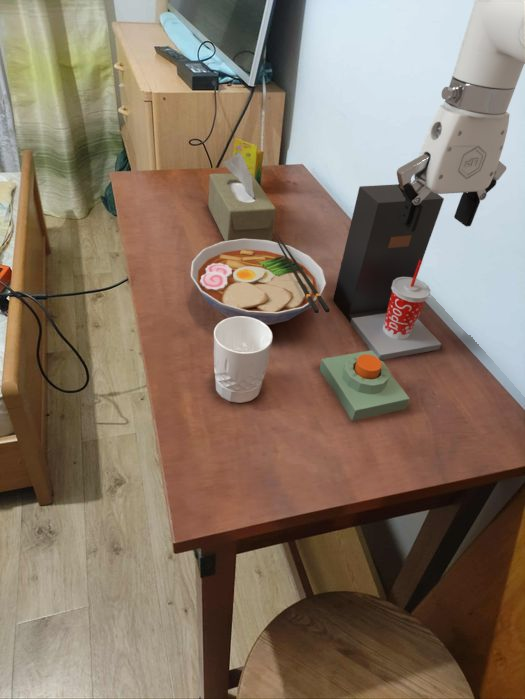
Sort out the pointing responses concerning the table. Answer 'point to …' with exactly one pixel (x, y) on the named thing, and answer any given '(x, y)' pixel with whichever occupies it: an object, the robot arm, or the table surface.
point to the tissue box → (240, 203)
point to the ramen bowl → (258, 279)
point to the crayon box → (250, 157)
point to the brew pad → (362, 387)
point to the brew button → (368, 366)
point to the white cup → (240, 357)
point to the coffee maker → (383, 266)
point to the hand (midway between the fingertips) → (434, 224)
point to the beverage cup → (405, 305)
